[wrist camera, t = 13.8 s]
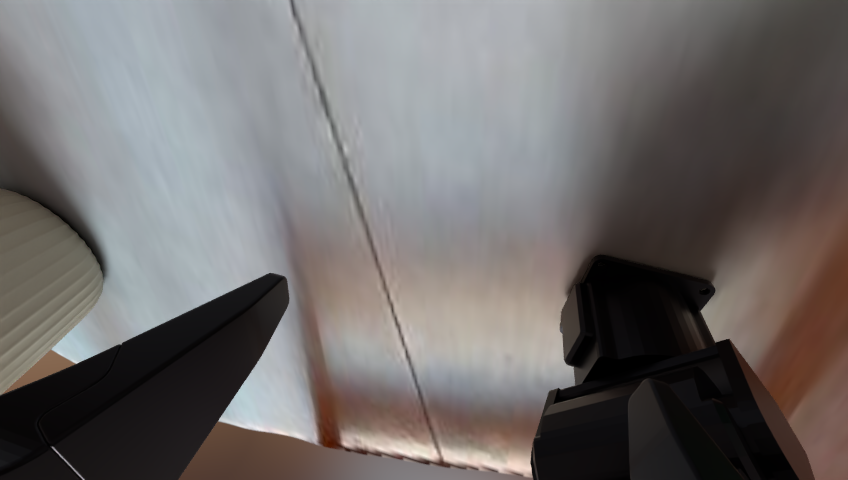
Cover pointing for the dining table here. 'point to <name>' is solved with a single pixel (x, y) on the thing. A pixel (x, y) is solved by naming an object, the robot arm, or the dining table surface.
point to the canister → (39, 283)
